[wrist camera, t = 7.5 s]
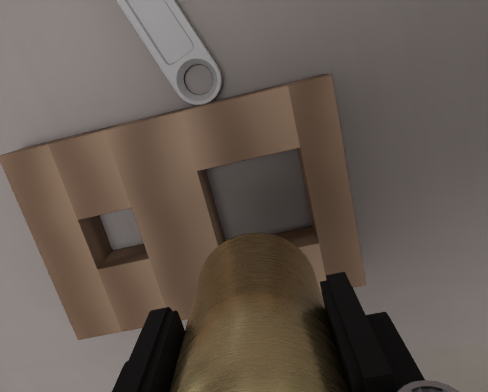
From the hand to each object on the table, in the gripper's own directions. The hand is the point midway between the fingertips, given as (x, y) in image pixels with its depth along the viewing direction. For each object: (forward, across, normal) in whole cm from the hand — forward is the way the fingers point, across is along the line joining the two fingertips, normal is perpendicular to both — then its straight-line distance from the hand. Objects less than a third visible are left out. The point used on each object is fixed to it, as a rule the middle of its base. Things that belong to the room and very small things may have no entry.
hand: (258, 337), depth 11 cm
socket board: (+13, +4, 0) cm, 14 cm away
